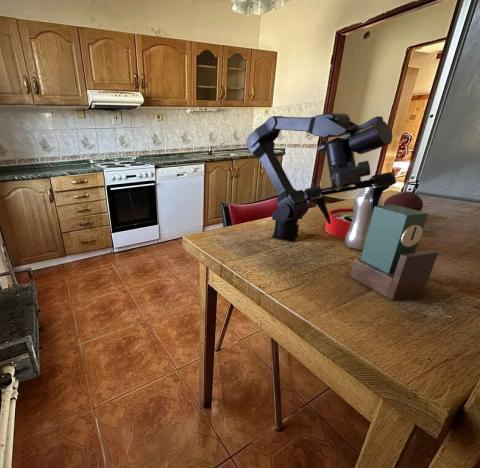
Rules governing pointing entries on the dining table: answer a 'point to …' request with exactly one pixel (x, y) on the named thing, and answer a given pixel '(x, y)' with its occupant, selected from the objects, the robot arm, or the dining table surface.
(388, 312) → the dining table surface
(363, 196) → the silver metal bottle
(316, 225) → the dining table surface
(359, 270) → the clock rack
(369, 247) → the clock
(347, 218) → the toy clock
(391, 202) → the potato
